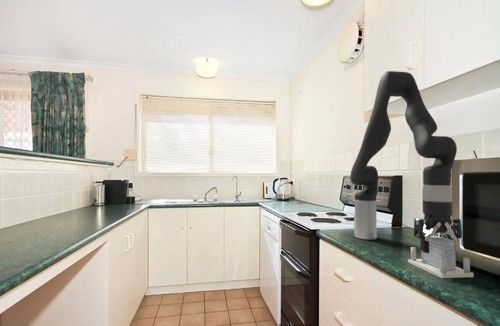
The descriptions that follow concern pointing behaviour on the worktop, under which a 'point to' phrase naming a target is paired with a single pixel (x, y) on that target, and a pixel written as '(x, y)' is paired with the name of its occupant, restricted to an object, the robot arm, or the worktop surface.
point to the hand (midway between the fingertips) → (438, 252)
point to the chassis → (442, 267)
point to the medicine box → (440, 252)
